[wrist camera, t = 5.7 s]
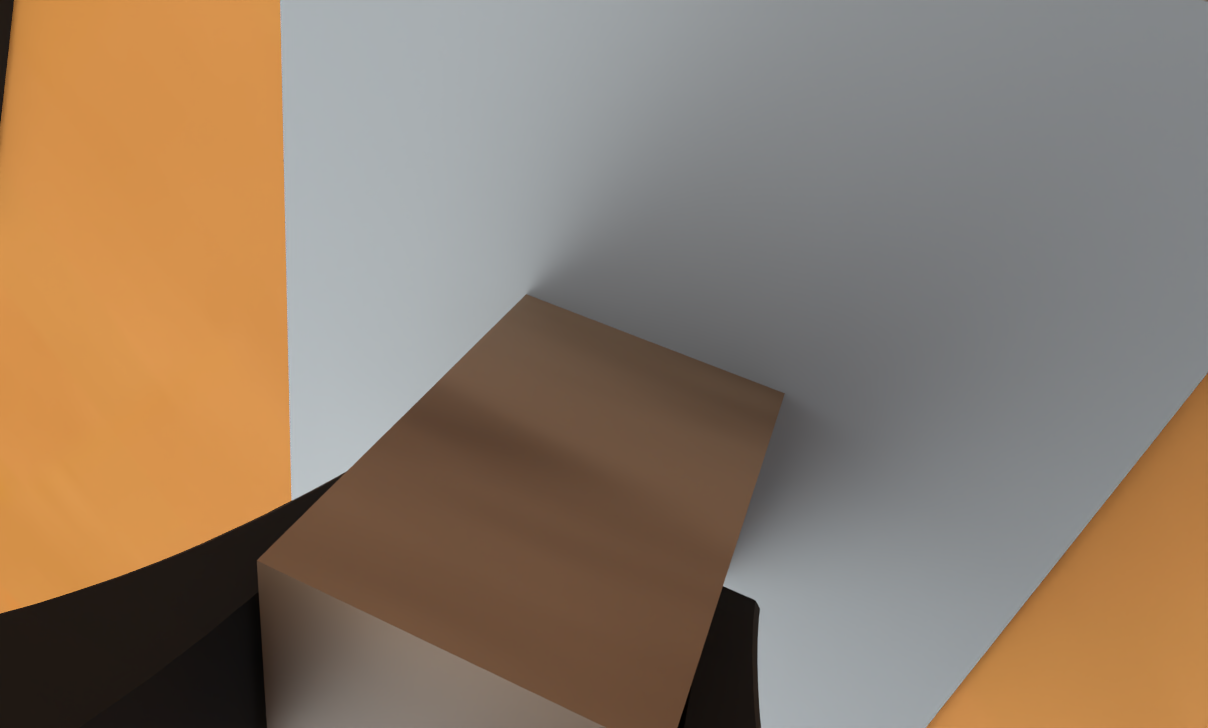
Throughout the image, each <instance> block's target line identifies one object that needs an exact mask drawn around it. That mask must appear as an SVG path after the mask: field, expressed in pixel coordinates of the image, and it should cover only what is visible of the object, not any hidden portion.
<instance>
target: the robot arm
mask: <svg viewBox="0 0 1208 728" xmlns="http://www.w3.org/2000/svg"><path fill="white" fill-rule="evenodd" d="M346 472H347V471H346ZM346 472H345V473H346ZM345 473H343V474H341V475H339V476H337V477H335V478H334V479H332V480H330V481H328V482H326V483H324V484H323V485H321V486H319V487H317V488H315V489H313V490H311V491H310V492H308V493H306V494H304V495H302V496H300V497H298V498H296V499H294V500H292V501H290V502H288V503H286V504H284V505H282V506H280V507H278V508H276V509H274V510H273V511H271V512H269V513H267V514H265V515H263V516H261V517H259V518H257V519H254V520H252V521H250V522H248V523H246V524H244V525H242V526H239V527H237V528H235V529H233V530H231V531H228V532H226V533H224V534H222V535H220V536H218V537H215V538H213V539H211V540H209V541H207V542H205V543H202V544H200V545H198V546H195V547H193V548H191V549H188V550H186V551H184V552H181V553H179V554H176V555H174V556H172V557H169V558H167V559H164V560H162V561H159V562H157V563H154V564H151V565H149V566H146V567H143V568H141V569H138V570H136V571H133V572H130V573H128V574H125V575H122V576H119V577H117V578H114V579H111V580H108V581H105V582H102V583H99V584H96V585H93V586H90V587H87V588H84V589H81V590H78V591H75V592H72V593H69V594H66V595H63V596H60V597H56V598H53V599H50V600H47V601H44V602H40V603H37V604H34V605H30V606H27V607H23V608H19V609H16V610H12V611H8V612H4V613H1V614H0V728H267V719H266V703H265V687H264V670H263V654H262V638H261V622H260V605H259V589H258V573H257V560H258V559H259V558H260V557H261V556H262V555H263V554H264V553H265V552H266V551H267V550H268V549H269V548H270V547H271V546H272V545H273V544H274V543H275V542H276V541H277V540H278V539H279V538H280V537H281V536H282V535H283V534H284V533H285V532H286V531H287V530H288V529H289V528H290V527H291V526H292V525H293V524H294V523H295V522H296V521H297V520H298V519H299V518H300V517H301V516H302V515H303V514H304V513H305V512H306V511H307V510H308V509H309V508H310V507H311V506H312V505H313V504H314V503H315V502H316V501H317V500H318V499H319V498H320V497H321V496H322V495H323V494H324V493H325V492H326V491H328V490H329V489H330V488H331V487H332V486H333V485H334V484H335V483H336V482H337V481H338V480H339V479H340V478H341V477H342V476H343V475H344V474H345ZM759 614H760V608H759V606H758V604H757V602H756V600H754V599H752V598H749V597H747V596H745V595H742V594H740V593H738V592H735V591H733V590H731V589H728V588H726V587H724V586H723V587H722V590H721V594H720V597H719V600H718V603H717V606H716V609H715V612H714V615H713V618H712V622H711V625H710V628H709V631H708V634H707V637H706V640H705V643H704V646H703V650H702V653H701V656H700V659H699V662H698V665H697V668H696V671H695V674H694V678H693V681H692V684H691V687H690V690H689V693H688V696H687V699H686V702H685V706H684V709H683V712H682V715H681V718H680V721H679V724H678V727H677V728H761V721H760V708H759V692H758V625H759Z"/></svg>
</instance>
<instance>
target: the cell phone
mask: <svg viewBox="0 0 1208 728" xmlns="http://www.w3.org/2000/svg"><path fill="white" fill-rule="evenodd" d="M13 3H14V0H0V121H1V112H2V103H3V94H4V85H5V76H6V67H7V58H8V49H9V39H10V30H11V21H12V12H13Z"/></svg>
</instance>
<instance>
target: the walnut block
mask: <svg viewBox="0 0 1208 728" xmlns="http://www.w3.org/2000/svg"><path fill="white" fill-rule="evenodd" d="M784 395H785V393H782V392H780V391H777V390H775V389H772V388H769V387H767V386H764V385H762V384H759V383H756V382H754V381H751V380H749V379H746V378H743V377H741V376H738V375H736V374H733V373H730V372H728V371H725V370H723V369H720V368H717V367H715V366H712V365H709V364H707V363H704V362H702V361H699V360H696V359H694V358H691V357H689V356H686V355H683V354H681V353H678V352H676V351H673V350H670V349H668V348H665V347H663V346H660V345H657V344H655V343H652V342H649V341H647V340H644V339H642V338H639V337H636V336H634V335H631V334H629V333H626V332H623V331H621V330H618V329H616V328H613V327H610V326H608V325H605V324H603V323H600V322H597V321H595V320H592V319H590V318H587V317H584V316H582V315H579V314H576V313H574V312H571V311H569V310H566V309H563V308H561V307H558V306H556V305H553V304H550V303H548V302H545V301H543V300H540V299H537V298H535V297H532V296H530V295H527V294H526V295H525V296H524V297H523V298H522V299H521V300H520V301H519V302H518V303H517V304H516V305H515V306H514V307H513V308H512V309H511V310H510V311H509V312H508V313H507V314H506V315H505V316H504V317H503V318H502V319H501V320H500V321H499V322H498V323H497V324H496V325H495V326H494V327H492V328H491V329H490V330H489V331H488V332H487V333H486V334H485V335H484V336H483V337H482V338H481V339H480V340H479V341H478V342H477V343H476V344H475V345H474V346H473V347H472V348H471V349H470V350H469V351H468V352H467V353H466V354H465V355H464V356H463V357H462V358H461V359H460V360H459V361H458V362H457V363H456V364H455V365H454V366H453V367H452V368H451V369H450V370H449V371H448V372H447V373H446V374H445V375H444V376H443V377H442V378H441V379H440V380H439V381H438V382H437V383H436V384H435V385H434V386H433V387H432V388H431V389H430V390H429V391H428V392H427V393H426V394H425V395H424V396H423V397H422V398H421V399H420V400H419V401H418V402H417V403H416V404H415V405H414V406H413V407H412V408H411V409H409V410H408V411H407V412H406V413H405V414H404V415H403V416H402V417H401V418H400V419H399V420H398V421H397V422H396V423H395V424H394V425H393V426H392V427H391V428H390V429H389V430H388V431H387V432H386V433H385V434H384V435H383V436H382V437H381V438H380V439H379V440H378V441H377V442H376V443H375V444H374V445H373V446H372V447H371V448H370V449H369V450H368V451H367V452H366V453H365V454H364V455H363V456H362V457H361V458H360V459H359V460H358V461H357V462H356V463H355V464H354V465H353V466H352V467H351V468H350V469H349V470H348V471H347V472H346V473H345V474H344V475H343V476H342V477H341V478H340V479H339V480H338V481H337V482H336V483H335V484H334V485H333V486H332V487H331V488H330V489H329V490H328V491H326V492H325V493H324V494H323V495H322V496H321V497H320V498H319V499H318V500H317V501H316V502H315V503H314V504H313V505H312V506H311V507H310V508H309V509H308V510H307V511H306V512H305V513H304V514H303V515H302V516H301V517H300V518H299V519H298V520H297V521H296V522H295V523H294V524H293V525H292V526H291V527H290V528H289V529H288V530H287V531H286V532H285V533H284V534H283V535H282V536H281V537H280V538H279V539H278V540H277V541H276V542H275V543H274V544H273V545H272V546H271V547H270V548H269V549H268V550H267V551H266V552H265V553H264V554H263V555H262V556H261V557H260V558H259V559H258V560H257V573H258V589H259V605H260V622H261V638H262V654H263V670H264V687H265V703H266V719H267V728H677V727H678V724H679V721H680V718H681V715H682V712H683V709H684V706H685V702H686V699H687V696H688V693H689V690H690V687H691V684H692V681H693V678H694V674H695V671H696V668H697V665H698V662H699V659H700V656H701V653H702V650H703V646H704V643H705V640H706V637H707V634H708V631H709V628H710V625H711V622H712V618H713V615H714V612H715V609H716V606H717V603H718V600H719V597H720V594H721V590H722V587H723V584H724V581H725V578H726V575H727V572H728V569H729V566H730V562H731V559H732V556H733V553H734V550H735V547H736V544H737V541H738V538H739V534H740V531H741V528H742V525H743V522H744V519H745V516H746V513H747V510H748V506H749V503H750V500H751V497H752V494H753V491H754V488H755V485H756V482H757V478H758V475H759V472H760V469H761V466H762V463H763V460H764V457H765V454H766V451H767V447H768V444H769V441H770V438H771V435H772V432H773V429H774V426H775V423H776V419H777V416H778V413H779V410H780V407H781V404H782V401H783V398H784Z"/></svg>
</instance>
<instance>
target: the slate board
mask: <svg viewBox="0 0 1208 728" xmlns="http://www.w3.org/2000/svg"><path fill="white" fill-rule="evenodd" d="M280 10H281V54H282V99H283V143H284V187H285V231H286V275H287V319H288V364H289V408H290V452H291V496H292V500H294V499H296V498H298V497H300V496H302V495H304V494H306V493H308V492H310V491H311V490H313V489H315V488H317V487H319V486H321V485H323V484H324V483H326V482H328V481H330V480H332V479H334V478H335V477H337V476H339V475H341V474H343V473H345V472H346V471H348V470H349V469H350V468H351V467H352V466H353V465H354V464H355V463H356V462H357V461H358V460H359V459H360V458H361V457H362V456H363V455H364V454H365V453H366V452H367V451H368V450H369V449H370V448H371V447H372V446H373V445H374V444H375V443H376V442H377V441H378V440H379V439H380V438H381V437H382V436H383V435H384V434H385V433H386V432H387V431H388V430H389V429H390V428H391V427H392V426H393V425H394V424H395V423H396V422H397V421H398V420H399V419H400V418H401V417H402V416H403V415H404V414H405V413H406V412H407V411H408V410H409V409H411V408H412V407H413V406H414V405H415V404H416V403H417V402H418V401H419V400H420V399H421V398H422V397H423V396H424V395H425V394H426V393H427V392H428V391H429V390H430V389H431V388H432V387H433V386H434V385H435V384H436V383H437V382H438V381H439V380H440V379H441V378H442V377H443V376H444V375H445V374H446V373H447V372H448V371H449V370H450V369H451V368H452V367H453V366H454V365H455V364H456V363H457V362H458V361H459V360H460V359H461V358H462V357H463V356H464V355H465V354H466V353H467V352H468V351H469V350H470V349H471V348H472V347H473V346H474V345H475V344H476V343H477V342H478V341H479V340H480V339H481V338H482V337H483V336H484V335H485V334H486V333H487V332H488V331H489V330H490V329H491V328H492V327H494V326H495V325H496V324H497V323H498V322H499V321H500V320H501V319H502V318H503V317H504V316H505V315H506V314H507V313H508V312H509V311H510V310H511V309H512V308H513V307H514V306H515V305H516V304H517V303H518V302H519V301H520V300H521V299H522V298H523V297H524V296H525V295H526V294H527V295H530V296H532V297H535V298H537V299H540V300H543V301H545V302H548V303H550V304H553V305H556V306H558V307H561V308H563V309H566V310H569V311H571V312H574V313H576V314H579V315H582V316H584V317H587V318H590V319H592V320H595V321H597V322H600V323H603V324H605V325H608V326H610V327H613V328H616V329H618V330H621V331H623V332H626V333H629V334H631V335H634V336H636V337H639V338H642V339H644V340H647V341H649V342H652V343H655V344H657V345H660V346H663V347H665V348H668V349H670V350H673V351H676V352H678V353H681V354H683V355H686V356H689V357H691V358H694V359H696V360H699V361H702V362H704V363H707V364H709V365H712V366H715V367H717V368H720V369H723V370H725V371H728V372H730V373H733V374H736V375H738V376H741V377H743V378H746V379H749V380H751V381H754V382H756V383H759V384H762V385H764V386H767V387H769V388H772V389H775V390H777V391H780V392H782V393H785V395H784V398H783V401H782V404H781V407H780V410H779V413H778V416H777V419H776V423H775V426H774V429H773V432H772V435H771V438H770V441H769V444H768V447H767V451H766V454H765V457H764V460H763V463H762V466H761V469H760V472H759V475H758V478H757V482H756V485H755V488H754V491H753V494H752V497H751V500H750V503H749V506H748V510H747V513H746V516H745V519H744V522H743V525H742V528H741V531H740V534H739V538H738V541H737V544H736V547H735V550H734V553H733V556H732V559H731V562H730V566H729V569H728V572H727V575H726V578H725V581H724V584H723V586H724V587H726V588H728V589H731V590H733V591H735V592H738V593H740V594H742V595H745V596H747V597H749V598H752V599H754V600H756V602H757V604H758V606H759V608H760V614H759V625H758V692H759V708H760V721H761V728H926V727H927V725H928V724H929V723H930V722H931V720H932V719H933V718H934V717H935V715H936V714H937V713H938V712H939V710H940V709H941V708H942V706H943V705H944V704H945V703H946V701H947V700H948V699H949V698H950V696H951V695H952V694H953V693H954V691H955V690H956V689H957V688H958V686H959V685H960V684H961V683H962V681H963V680H964V679H965V678H966V676H967V675H968V674H969V673H970V671H971V670H972V669H973V667H974V666H975V665H976V664H977V662H978V661H979V660H980V659H981V657H982V656H983V655H984V654H985V652H986V651H987V650H988V649H989V647H990V646H991V645H992V644H993V642H994V641H995V640H996V639H997V637H998V636H999V635H1000V633H1001V632H1002V631H1003V630H1004V628H1005V627H1006V626H1007V625H1008V623H1009V622H1010V621H1011V620H1012V618H1013V617H1014V616H1015V615H1016V613H1017V612H1018V611H1019V610H1020V608H1021V607H1022V606H1023V605H1024V603H1025V602H1026V601H1027V600H1028V598H1029V597H1030V596H1031V594H1032V593H1033V592H1034V591H1035V589H1036V588H1037V587H1038V586H1039V584H1040V583H1041V582H1042V581H1043V579H1044V578H1045V577H1046V576H1047V574H1048V573H1049V572H1050V571H1051V569H1052V568H1053V567H1054V566H1055V564H1056V563H1057V562H1058V561H1059V559H1060V558H1061V557H1062V555H1063V554H1064V553H1065V552H1066V550H1067V549H1068V548H1069V547H1070V545H1071V544H1072V543H1073V542H1074V540H1075V539H1076V538H1077V537H1078V535H1079V534H1080V533H1081V532H1082V530H1083V529H1084V528H1085V527H1086V525H1087V524H1088V523H1089V521H1090V520H1091V519H1092V518H1093V516H1094V515H1095V514H1096V513H1097V511H1098V510H1099V509H1100V508H1101V506H1102V505H1103V504H1104V503H1105V501H1106V500H1107V499H1108V498H1109V496H1110V495H1111V494H1112V493H1113V491H1114V490H1115V489H1116V488H1117V486H1118V485H1119V484H1120V482H1121V481H1122V480H1123V479H1124V477H1125V476H1126V475H1127V474H1128V472H1129V471H1130V470H1131V469H1132V467H1133V466H1134V465H1135V464H1136V462H1137V461H1138V460H1139V459H1140V457H1141V456H1142V455H1143V454H1144V452H1145V451H1146V450H1147V449H1148V447H1149V446H1150V445H1151V443H1152V442H1153V441H1154V440H1155V438H1156V437H1157V436H1158V435H1159V433H1160V432H1161V431H1162V430H1163V428H1164V427H1165V426H1166V425H1167V423H1168V422H1169V421H1170V420H1171V418H1172V417H1173V416H1174V415H1175V413H1176V412H1177V411H1178V410H1179V408H1180V407H1181V406H1182V404H1183V403H1184V402H1185V401H1186V399H1187V398H1188V397H1189V396H1190V394H1191V393H1192V392H1193V391H1194V389H1195V388H1196V387H1197V386H1198V384H1199V383H1200V382H1201V381H1202V379H1203V378H1204V377H1205V376H1206V374H1207V373H1208V0H280Z"/></svg>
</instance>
